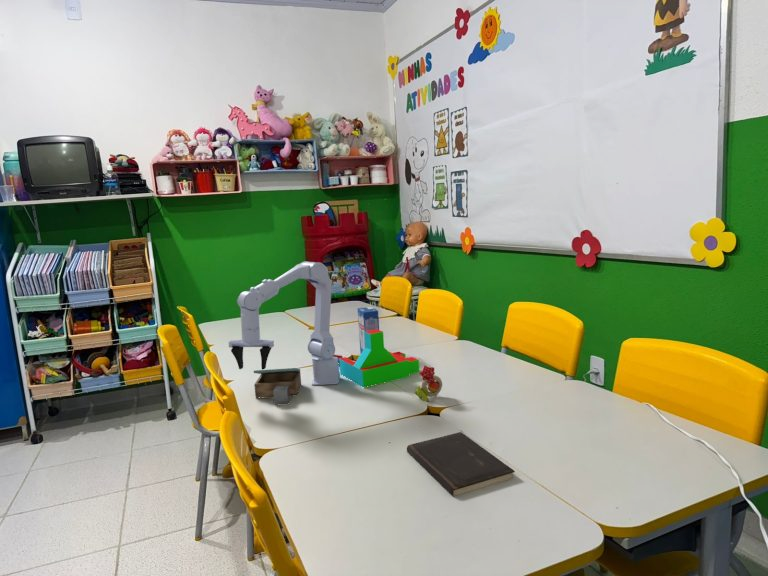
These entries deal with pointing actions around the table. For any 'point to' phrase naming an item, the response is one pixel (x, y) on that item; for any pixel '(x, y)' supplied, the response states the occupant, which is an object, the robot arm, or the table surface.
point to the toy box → (277, 383)
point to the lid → (277, 371)
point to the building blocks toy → (377, 363)
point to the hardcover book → (459, 463)
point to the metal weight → (281, 394)
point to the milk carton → (367, 323)
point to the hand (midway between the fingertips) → (252, 368)
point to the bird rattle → (428, 380)
